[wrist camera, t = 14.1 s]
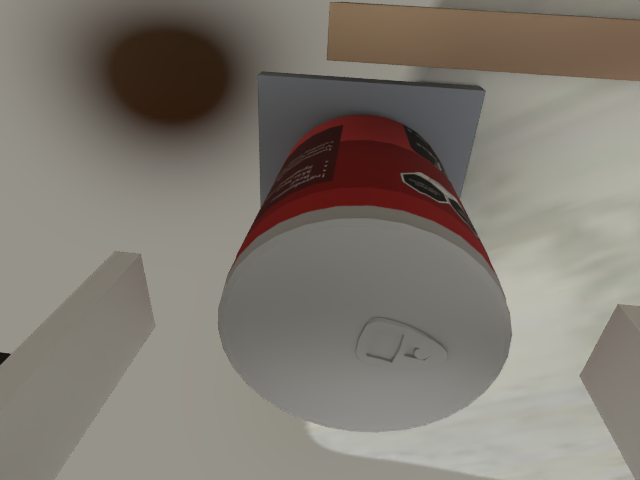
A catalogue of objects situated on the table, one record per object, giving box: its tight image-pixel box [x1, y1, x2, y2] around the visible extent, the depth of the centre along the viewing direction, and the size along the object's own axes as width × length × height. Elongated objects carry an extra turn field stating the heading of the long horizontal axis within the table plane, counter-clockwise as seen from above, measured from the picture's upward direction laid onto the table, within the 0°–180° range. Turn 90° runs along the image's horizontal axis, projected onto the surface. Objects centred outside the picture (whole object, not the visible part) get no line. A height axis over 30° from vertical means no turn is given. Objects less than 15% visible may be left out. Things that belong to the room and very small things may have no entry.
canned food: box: [218, 115, 512, 432], centre depth 16 cm, size 8×8×11 cm
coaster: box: [258, 72, 486, 207], centre depth 21 cm, size 10×10×1 cm
